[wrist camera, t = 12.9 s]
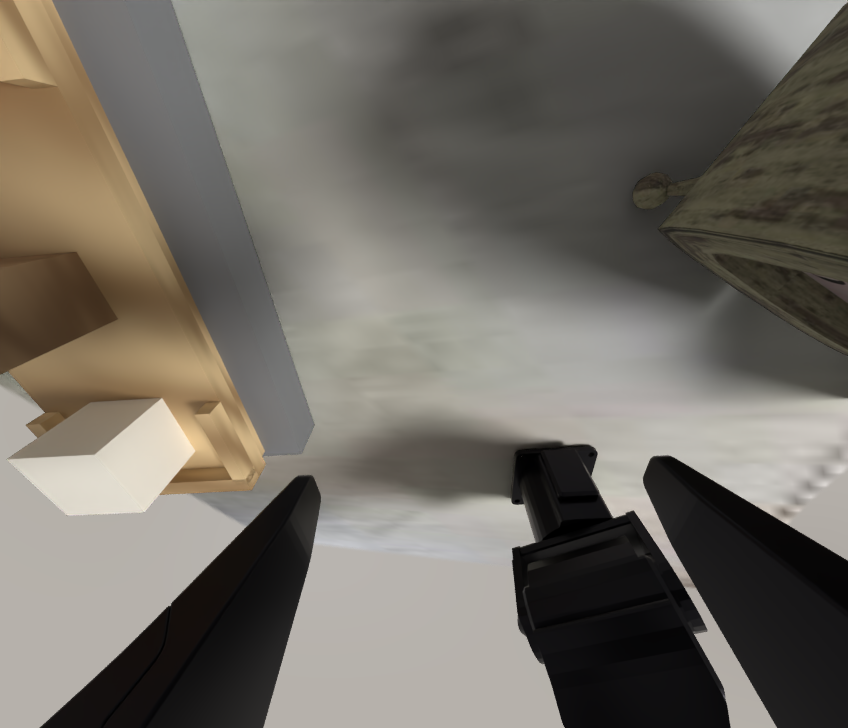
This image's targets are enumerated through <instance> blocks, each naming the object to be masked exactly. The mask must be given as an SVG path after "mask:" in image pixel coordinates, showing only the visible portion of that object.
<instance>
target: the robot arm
mask: <svg viewBox="0 0 848 728" xmlns="http://www.w3.org/2000/svg"><path fill="white" fill-rule="evenodd" d="M597 454H598V453H597V451H596V449H595V448H594V447H571V448H552V449H533V450H519V451H517V452H516V453H515V457H514V467H513V478H512V488H511V501H512V503H513V504H516V505H519V504H524V505H525V508H526V512H527V515H528V518H529V522H530V525H531V528H532V532H533V535H534V538H535V542H536V543H532V544H529V545H526V546H523V547H520V546H518V547H515V548H512V553H513V560H512V564H513V574H514V583H515V593H516V602H517V612H518V626H519V629H520V631H521V633H522V634H524V635H525V636H526V637H527V639H528V642H529V644H530V647H531V649H532V651H533V653H534V655H535V656H536V658H537V660H538V661H539V662H540V663H541V664H545V667H546V670H547V673H548V675H549V678H550V681H551V685H552V688H553V691H554V695H555V698H556V701H557V706H558V709H559V713H560V716H561V720H562V723H563V725H564V727H565V728H730V722H729V715H728V708H727V703H726V701H725V700H726V699H725V692H724V688H723V686H722V684H721V681H720V680H719V678H718V676H717V674H716V673H715V671H714V669H713V667H712V665H711V664H710V662H709V660H708V658H707V657H706V655H705V653H704V651H703V649H702V648H701V646H700V644H699V642H698V641H697V639H696V637H695V635H694V634H697V633H702V632H707V628H706V626H705V624H704V622H703V620H702V618H701V616H700V614H699V613H698V611H697V609H696V607H695V605H694V603H693V602H692V600H691V598H690V597H689V595H688V594H687V591H686V590H685V588H684V586H683V585H682V583H681V581H680V580H679V578H678V577H677V575H676V573H675V572H674V570H673V569H672V567H671V566H670V564H669V562H668V561H667V559H666V558H665V556H664V555H663V553H662V552H661V550H660V549H659V547H658V546H657V545H656V543H655V542H654V540H653V539H652V537H651V536H650V534H649V533H648V531H647V530H646V528H645V527H644V525H643V524H642V522H641V521H640V519H639V518H638V516H637V515H636V513H635V512H634V510H633V511H630V512H627V513H626V515H622V516H619V517H616V518H613V517H612V515H611V513H610V511H609V509H608V508H607V506H606V504H605V502H604V500H603V498H602V497H601V495H600V493H599V490H598V488H597V486H596V485H595V483H594V481H593V479H592V477H591V475H592V472H593V468H594V465H595V461H596V458H597ZM521 456H522V457H521ZM643 483H644V486H645V489H646V491H647V493H648V495H649V497H650V500H651V502H652V504H653V506H654V508H655V511H656V513H657V515H658V517H659V519H660V521H661V524H662V526H663V528H664V530H665V532H666V534H667V537H668V539H669V541H670V543H671V545H672V547H673V548H674V550H675V552H676V554H677V556H678V557H679V559H680V561H681V563H682V564H683V566H684V568H685V569H686V571H687V573H688V575H689V576H690V578H691V580H692V582H693V583H694V585H695V587H696V588H697V590H698V592H699V594H700V595H701V597H702V599H703V600H704V602H705V604H706V606H707V607H708V609H709V611H710V613H711V614H712V616H713V618H714V619H715V621H716V623H717V624H718V626H719V628H720V630H721V631H722V633H723V635H724V637H725V638H726V640H727V642H728V644H729V645H730V647H731V648H732V650H733V652H734V654H735V656H736V658H737V659H738V661H739V662H740V664H741V666H742V668H743V670H744V671H745V673H746V675H747V677H748V678H749V680H750V682H751V683H752V685H753V687H754V688H755V690H756V692H757V694H758V696H759V697H760V699H761V701H762V702H763V704H764V706H765V708H766V709H767V711H768V713H769V714H770V716H771V718H772V720H773V721H774V723H775V725H776V726H777V728H848V561H847V560H846V559H844V558H842V557H841V556H839V555H837V554H836V553H834V552H832V551H831V550H829V549H827V548H826V547H824V546H822V545H821V544H819V543H817V542H815V541H814V540H812V539H810V538H809V537H807V536H805V535H804V534H802V533H800V532H798V531H797V530H795V529H794V528H792V527H790V526H789V525H787V524H785V523H783V522H782V521H780V520H778V519H777V518H775V517H773V516H772V515H770V514H768V513H767V512H765V511H763V510H762V509H760V508H758V507H756V506H755V505H753V504H751V503H750V502H748V501H746V500H745V499H743V498H741V497H740V496H738V495H736V494H735V493H733V492H731V491H730V490H728V489H726V488H724V487H723V486H721V485H719V484H718V483H716V482H714V481H713V480H711V479H709V478H708V477H706V476H704V475H703V474H701V473H699V472H698V471H696V470H694V469H692V468H691V467H689V466H687V465H686V464H684V463H682V462H681V461H679V460H677V459H676V458H674V457H672V456H653V457H652V458H651V459H650V461H649V463H648V466H647V468H646V471H645V474H644V476H643ZM320 503H321V495H320V492H319V489H318V487H317V484H316V481H315V479H314V477H313V476H312V475H301V476H297V477H296V478H294V479H293V480H292V481H291V482H290V483H289V484H288V485H287V486H286V487H285V488H284V489H283V490H282V491H281V492H280V493H279V495H278V496H277V497H276V498H275V499H274V500H273V501H272V502H271V503H270V504H269V505H268V506H267V507H266V508H265V509H264V510H263V511H262V512H261V513H260V514H259V515H258V516H257V517H256V518H255V519H254V520H253V521H252V522H251V523H250V524H249V525H248V526H247V527H246V528H245V529H244V530H243V531H242V532H241V533H240V534H239V535H238V536H237V537H236V538H235V539H234V540H233V541H232V542H231V544H229V545H228V546H227V547H226V548H225V549H224V550H223V551H222V552H221V553H220V554H219V555H218V556H217V557H216V558H215V559H214V560H213V561H212V562H211V563H210V564H209V565H208V566H207V568H205V569H204V571H202V573H201V574H200V575H199V576H198V577H197V578H196V579H195V580H194V581H193V582H192V583H191V584H190V585H189V586H188V587H187V588H186V589H185V590H184V591H183V592H182V593H181V594H180V595H179V596H178V597H177V598H176V599H175V600H174V601H173V602H172V603H171V606H168V607H167V608H166V609H165V610H164V611H163V612H162V613H161V614H160V615H159V616H158V617H157V618H156V619H155V620H154V621H153V622H152V623H151V624H150V625H149V626H148V627H147V628H146V629H145V630H144V631H143V632H142V633H141V634H140V635H139V636H138V637H137V638H136V639H135V640H134V641H133V642H132V643H131V644H130V645H129V646H128V647H127V648H126V649H125V650H124V651H123V652H122V653H121V654H119V655H118V656H117V657H116V658H115V659H114V660H113V661H112V662H111V663H110V664H109V665H108V666H107V667H105V669H103V670H102V671H101V672H100V673H99V674H98V675H97V676H96V677H95V678H94V679H93V680H92V681H90V682H89V683H88V684H87V685H86V686H85V687H84V688H83V689H82V690H81V691H80V692H79V693H77V694H76V695H75V696H74V697H73V698H72V699H71V700H70V701H69V702H67V703H66V704H65V705H64V706H63V707H62V708H61V709H60V710H59V711H58V712H56V713H55V714H54V715H53V716H52V717H51V718H50V719H49V720H48V721H47V722H46V723H44V724H43V725H42V726H41V727H40V728H263V726H264V723H265V720H266V716H267V713H268V709H269V705H270V702H271V698H272V695H273V691H274V688H275V684H276V681H277V677H278V674H279V670H280V666H281V663H282V659H283V656H284V652H285V649H286V645H287V642H288V638H289V635H290V631H291V628H292V624H293V620H294V617H295V613H296V610H297V606H298V603H299V599H300V596H301V592H302V589H303V585H304V582H305V578H306V574H307V571H308V567H309V563H310V559H311V554H312V548H313V543H314V537H315V532H316V526H317V520H318V515H319V509H320Z"/></svg>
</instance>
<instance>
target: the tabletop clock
mask: <svg viewBox="0 0 848 728" xmlns="http://www.w3.org/2000/svg"><path fill="white" fill-rule="evenodd" d="M669 196H685V197H684V198H683V199H682V201H681V202H680V203H679V204H678V206H677V207H676V208H675V209H674V210H673V212H672V213H671V214H670V215H669V216H668V218H667V219H666V220H665V221H664V222H663V224H662V225H661V226H660V227H659V228H658V230H659V231H660V232H661V233H662V234H663V235H664V236H665V237H666V238H667V239H668V240H670V241H671V242H672V243H673V244H674V245H676V246H677V247H678V248H679V249H681V250H682V251H683V252H685V253H686V254H687V255H689V256H690V257H692V258H693V259H694V260H696V261H697V262H699V263H700V264H701V265H703V266H704V267H706V268H707V269H708V270H710V271H711V272H713V273H714V274H715V275H717V276H718V277H720V278H721V279H722V280H724V281H725V282H727V283H728V284H729V285H731V286H732V287H734V288H735V289H737V290H738V291H740V292H741V293H743V294H744V295H746V296H748V297H749V298H751V299H752V300H754V301H755V302H757V303H758V304H760V305H761V306H763V307H764V308H766V309H767V310H769V311H771V312H772V313H774V314H775V315H777V316H778V317H780V318H781V319H783V320H784V321H786V322H788V323H789V324H791V325H792V326H794V327H796V328H797V329H799V330H801V331H802V332H804V333H806V334H807V335H809V336H811V337H813V338H814V339H816V340H818V341H820V342H821V343H823V344H825V345H827V346H828V347H830V348H832V349H834V350H836V351H839V352H841V353H843V354H845V355H847V356H848V3H847V4H845V5H844V6H843V7H842V8H841V9H840V11H839V12H838V13H837V14H836V15H835V17H834V18H833V19H832V20H831V21H830V23H829V24H828V25H827V26H826V27H825V29H824V30H823V31H822V32H821V33H820V35H819V36H818V37H817V38H816V40H815V41H814V42H813V43H812V44H811V46H810V47H809V48H808V49H807V50H806V52H805V53H804V54H803V55H802V56H801V58H800V59H799V60H798V61H797V62H796V64H795V65H794V66H793V67H792V68H791V70H790V71H789V72H788V73H787V74H786V76H785V77H784V78H783V79H782V80H781V82H780V83H779V84H778V85H777V86H776V88H775V89H774V90H773V91H772V92H771V94H770V95H769V96H768V97H767V98H766V100H765V101H764V102H763V103H762V104H761V106H760V107H759V108H758V109H757V110H756V112H755V113H754V114H753V115H752V116H751V118H750V119H749V120H748V121H747V123H746V124H745V125H744V126H743V127H742V129H741V130H740V131H739V132H738V133H737V135H736V136H735V137H734V138H733V139H732V141H731V142H730V143H729V144H728V145H727V147H726V148H725V149H724V150H723V151H722V153H721V154H720V155H719V156H718V157H717V159H716V160H715V161H714V162H713V163H712V165H711V166H710V167H709V168H708V169H707V171H706V172H705V173H704V174H703V175H702V177H697V178H693V179H688V180H684V181H680V182H675V183H672V180H671V179H670V177H669V176H668V175H667V174H663V173H658V172H655V173H652V174H650V175H648V176H646V177H644V178H643V179H641V180H640V181H639V182H638V183H637V185H636V187H635V189H634V191H633V202H634V203H635V204H636V206H637V207H638V208H643V209H647V210H650V209H654V208H655V207H657V206H659V205H661V204H663V203H664V202H666V200H667V199H668V198H669Z"/></svg>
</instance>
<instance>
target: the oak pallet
mask: <svg viewBox="0 0 848 728" xmlns="http://www.w3.org/2000/svg"><path fill="white" fill-rule="evenodd" d="M7 371H8V372H9V373H10V374H11V375H12V376H13V377H14V378H15V380H16V381H17V382H18V383H19V384H20V385H21V386H22V387H23V389H24V390H25V391H26V392H27V393H28V394H29V395H30V396H31V398H32V399H33V400H34V401H35V402H36V403H37V404H38V405H39V406H40V408H41V409H42V410H43V411H44V412H45V413H44V414H42V415H41V416H39V417H38V418H36V419H34V420H33V421H31V422H30V423H28V424H26V426H27V427H28V428H29V429H30V430H31V431H32V432H33V433H34V435H35V436H37V438H39V437H40V436H42V435H43V434H45V433H46V432H48V431H49V430H50V429H52V428H53V427H55V426H56V425H58V424H59V423H61V422H62V421H64V420H65V419H67V418H68V417H70V416H71V415H73V414H74V413H76V412H77V411H78V410H80V409H81V408H83V407H84V406H86V405H87V404H89V403H90V402H102V401H118V400H134V399H151V398H162V399H163V400H164V402H165V403H166V405H167V407H168V408H169V410H170V411H171V413H172V415H173V416H174V418H175V419H176V421H177V423H178V424H179V426H180V427H181V429H182V431H183V432H184V434H185V435H186V437H187V438H188V440H189V442H190V443H191V445H192V446H193V448H194V450H195V452H194V454H193V455H192V456H191V457H190V458H189V460H188V461H187V462H186V463H185V464H184V466H183V467H182V468H181V469H180V470H179V472H178V473H177V474H176V475H175V476H174V478H173V479H172V480H171V481H170V482H169V484H168V485H167V486H166V487H165V488H164V490H163V491H162V492H161V493H160V494H159V495H165V494H185V493H205V492H225V491H245V490H252V489H253V487H254V485H255V483H256V481H257V480H258V478H259V476H260V474H261V472H262V471H263V469H264V467H265V465H266V463H265V461H264V459H263V457H262V456H263V454H264V452H265V450H264V448H263V446H262V444H261V442H260V440H259V437H258V435H257V433H256V431H255V429H254V427H253V425H252V423H251V421H250V418H249V416H248V414H247V412H246V410H245V408H244V406H243V404H242V402H241V399H240V397H239V395H238V393H237V391H236V389H235V387H234V385H233V382H232V380H231V378H230V376H229V374H228V372H227V370H226V368H225V366H224V363H223V361H222V359H221V357H220V355H219V353H218V351H217V349H216V347H215V344H214V342H213V340H212V338H211V336H210V334H209V332H208V330H207V327H206V325H205V323H204V321H203V319H202V317H201V315H200V313H199V311H198V308H197V306H196V304H195V302H194V300H193V298H192V296H191V294H190V292H189V289H188V287H187V285H186V283H185V281H184V279H183V277H182V275H181V272H180V270H179V268H178V266H177V264H176V262H175V260H174V258H173V256H172V253H171V251H170V249H169V247H168V245H167V243H166V241H165V239H164V237H163V234H162V232H161V230H160V228H159V226H158V224H157V222H156V220H155V217H154V215H153V213H152V211H151V209H150V207H149V205H148V203H147V201H146V198H145V196H144V194H143V192H142V190H141V188H140V186H139V184H138V182H137V179H136V177H135V175H134V173H133V171H132V169H131V167H130V165H129V162H128V160H127V158H126V156H125V154H124V152H123V150H122V148H121V146H120V143H119V141H118V139H117V137H116V135H115V133H114V131H113V129H112V127H111V124H110V122H109V120H108V118H107V116H106V114H105V112H104V110H103V107H102V105H101V103H100V101H99V99H98V97H97V95H96V93H95V91H94V88H93V86H92V84H91V82H90V80H89V78H88V76H87V74H86V72H85V69H84V67H83V65H82V63H81V61H80V59H79V57H78V55H77V52H76V50H75V48H74V46H73V44H72V42H71V40H70V38H69V36H68V33H67V31H66V29H65V27H64V25H63V23H62V21H61V19H60V17H59V14H58V12H57V10H56V8H55V6H54V4H53V2H52V0H0V374H2V373H5V372H7Z"/></svg>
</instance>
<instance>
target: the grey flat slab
mask: <svg viewBox="0 0 848 728" xmlns="http://www.w3.org/2000/svg"><path fill="white" fill-rule="evenodd" d="M52 2H53V4H54V6H55V8H56V10H57V12H58V14H59V17H60V19H61V21H62V23H63V25H64V27H65V29H66V31H67V33H68V36H69V38H70V40H71V42H72V44H73V46H74V48H75V50H76V52H77V55H78V57H79V59H80V61H81V63H82V65H83V67H84V69H85V72H86V74H87V76H88V78H89V80H90V82H91V84H92V86H93V88H94V91H95V93H96V95H97V97H98V99H99V101H100V103H101V105H102V107H103V110H104V112H105V114H106V116H107V118H108V120H109V122H110V124H111V127H112V129H113V131H114V133H115V135H116V137H117V139H118V141H119V143H120V146H121V148H122V150H123V152H124V154H125V156H126V158H127V160H128V162H129V165H130V167H131V169H132V171H133V173H134V175H135V177H136V179H137V182H138V184H139V186H140V188H141V190H142V192H143V194H144V196H145V198H146V201H147V203H148V205H149V207H150V209H151V211H152V213H153V215H154V217H155V220H156V222H157V224H158V226H159V228H160V230H161V232H162V234H163V237H164V239H165V241H166V243H167V245H168V247H169V249H170V251H171V253H172V256H173V258H174V260H175V262H176V264H177V266H178V268H179V270H180V272H181V275H182V277H183V279H184V281H185V283H186V285H187V287H188V289H189V292H190V294H191V296H192V298H193V300H194V302H195V304H196V306H197V308H198V311H199V313H200V315H201V317H202V319H203V321H204V323H205V325H206V327H207V330H208V332H209V334H210V336H211V338H212V340H213V342H214V344H215V347H216V349H217V351H218V353H219V355H220V357H221V359H222V361H223V363H224V366H225V368H226V370H227V372H228V374H229V376H230V378H231V380H232V382H233V385H234V387H235V389H236V391H237V393H238V395H239V397H240V399H241V402H242V404H243V406H244V408H245V410H246V412H247V414H248V416H249V418H250V421H251V423H252V425H253V427H254V429H255V431H256V433H257V435H258V437H259V440H260V442H261V444H262V446H263V448H264V450H265V452H264V454H263V456H275V455H294V454H302V452H303V450H304V448H305V445H306V443H307V441H308V439H309V436H310V434H311V432H312V430H313V427H314V422H313V419H312V416H311V413H310V410H309V407H308V404H307V401H306V398H305V395H304V392H303V389H302V386H301V384H300V381H299V378H298V375H297V372H296V369H295V366H294V363H293V360H292V357H291V354H290V351H289V348H288V345H287V342H286V339H285V336H284V333H283V330H282V327H281V324H280V321H279V319H278V316H277V313H276V310H275V307H274V304H273V301H272V298H271V295H270V292H269V289H268V286H267V283H266V280H265V277H264V274H263V271H262V268H261V265H260V262H259V259H258V256H257V254H256V251H255V248H254V245H253V242H252V239H251V236H250V233H249V230H248V227H247V224H246V221H245V218H244V215H243V212H242V209H241V206H240V203H239V200H238V197H237V194H236V191H235V189H234V186H233V183H232V180H231V177H230V174H229V171H228V168H227V165H226V162H225V159H224V156H223V153H222V150H221V147H220V144H219V141H218V138H217V135H216V132H215V129H214V126H213V124H212V121H211V118H210V115H209V112H208V109H207V106H206V103H205V100H204V97H203V94H202V91H201V88H200V85H199V82H198V79H197V76H196V73H195V70H194V67H193V64H192V61H191V59H190V56H189V53H188V50H187V47H186V44H185V41H184V38H183V35H182V32H181V29H180V26H179V23H178V20H177V17H176V14H175V11H174V8H173V5H172V2H171V0H52Z"/></svg>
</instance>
